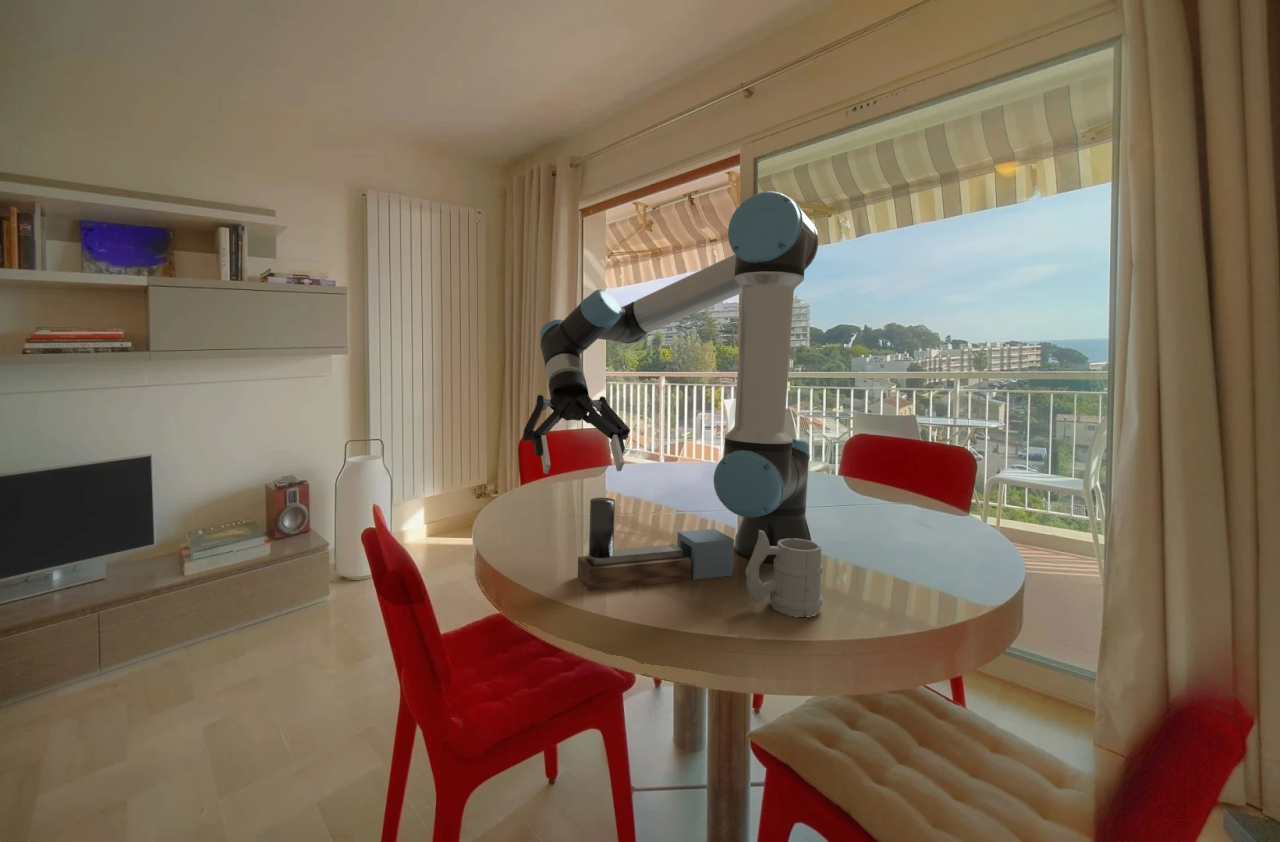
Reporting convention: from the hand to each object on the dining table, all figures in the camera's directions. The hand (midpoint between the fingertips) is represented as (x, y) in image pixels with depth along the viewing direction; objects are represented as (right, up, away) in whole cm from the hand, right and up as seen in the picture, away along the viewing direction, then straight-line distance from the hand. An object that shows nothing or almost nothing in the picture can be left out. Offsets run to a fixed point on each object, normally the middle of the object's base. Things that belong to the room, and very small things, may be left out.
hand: (584, 468), depth 100 cm
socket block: (+21, -18, -1) cm, 28 cm away
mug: (+31, -20, -16) cm, 40 cm away
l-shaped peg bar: (+9, -17, -6) cm, 20 cm away
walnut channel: (+9, -18, -6) cm, 21 cm away
